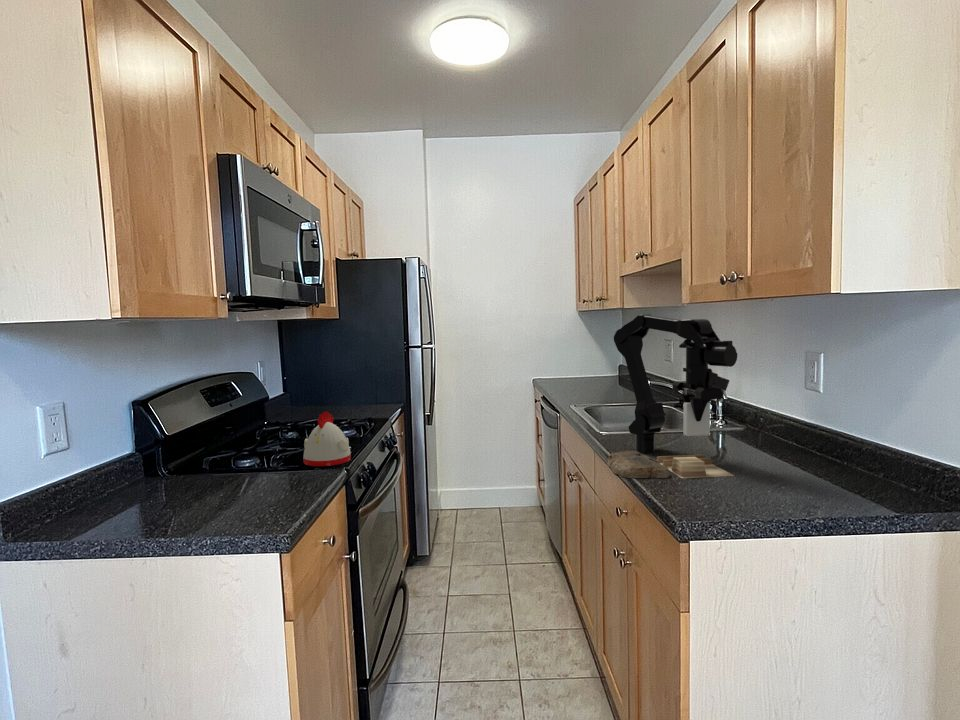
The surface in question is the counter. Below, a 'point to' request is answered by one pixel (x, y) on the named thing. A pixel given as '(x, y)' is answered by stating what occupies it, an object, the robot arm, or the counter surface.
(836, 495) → the counter surface
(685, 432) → the panel
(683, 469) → the oak offcut
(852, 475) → the counter surface
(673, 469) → the tan wooden square tile
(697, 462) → the pine offcut
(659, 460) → the rack
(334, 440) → the kitchen timer
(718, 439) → the counter surface
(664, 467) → the craggy brown boulder
